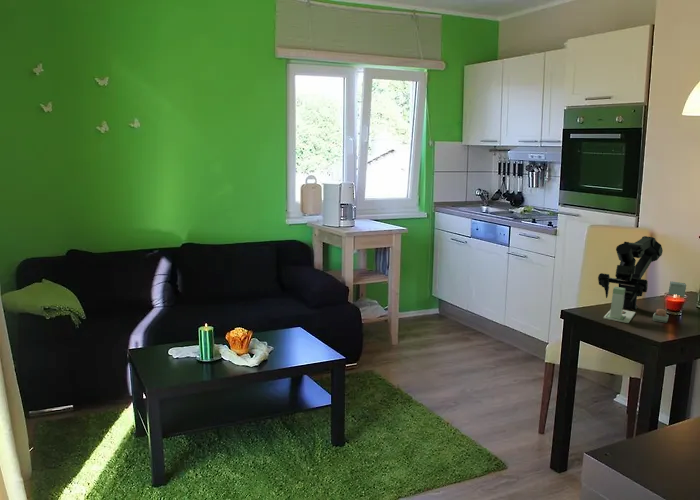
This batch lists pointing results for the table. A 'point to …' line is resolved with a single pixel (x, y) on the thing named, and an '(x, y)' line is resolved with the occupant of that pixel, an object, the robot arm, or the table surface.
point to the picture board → (625, 317)
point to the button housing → (660, 318)
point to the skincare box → (677, 288)
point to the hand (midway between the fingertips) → (618, 299)
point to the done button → (661, 312)
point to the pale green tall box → (617, 302)
